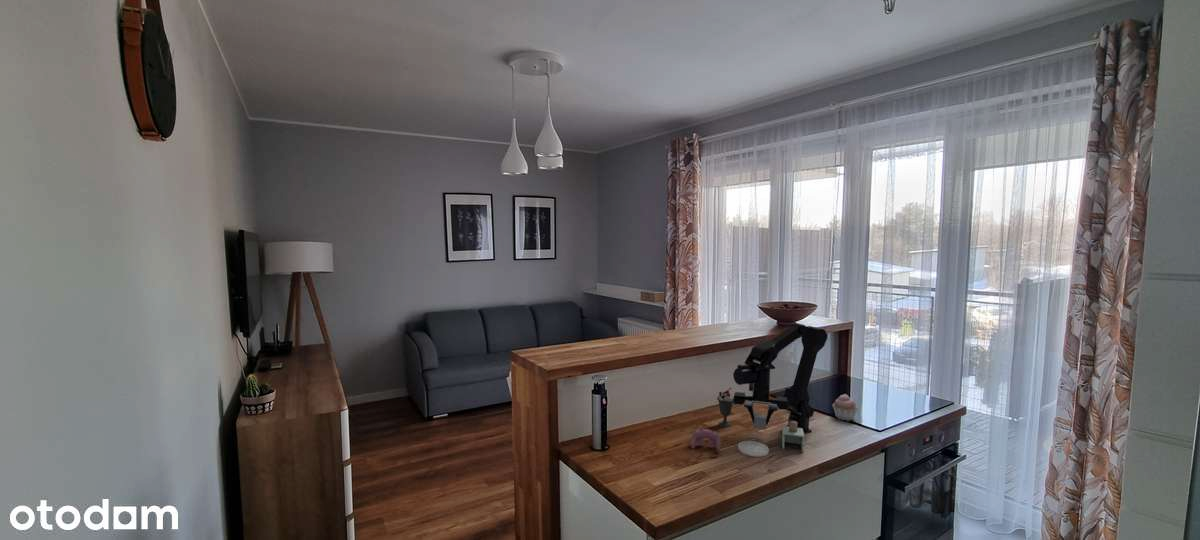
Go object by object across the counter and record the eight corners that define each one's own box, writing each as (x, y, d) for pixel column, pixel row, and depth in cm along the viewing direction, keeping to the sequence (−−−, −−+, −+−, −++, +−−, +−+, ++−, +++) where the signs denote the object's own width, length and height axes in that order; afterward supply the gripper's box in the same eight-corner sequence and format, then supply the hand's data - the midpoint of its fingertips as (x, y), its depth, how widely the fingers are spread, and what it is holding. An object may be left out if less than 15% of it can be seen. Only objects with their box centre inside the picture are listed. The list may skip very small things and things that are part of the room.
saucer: (758, 442, 166) (758, 439, 166) (774, 455, 156) (775, 452, 156) (732, 445, 164) (732, 442, 164) (747, 458, 154) (747, 455, 154)
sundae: (734, 428, 178) (735, 389, 177) (716, 427, 179) (717, 388, 178) (733, 422, 184) (734, 384, 183) (715, 420, 186) (716, 383, 185)
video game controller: (720, 453, 161) (721, 431, 164) (720, 452, 157) (721, 430, 160) (691, 448, 164) (693, 427, 167) (690, 448, 160) (691, 426, 163)
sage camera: (802, 443, 165) (802, 420, 165) (803, 451, 159) (804, 427, 158) (781, 440, 167) (782, 417, 167) (782, 448, 161) (783, 424, 161)
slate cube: (765, 425, 171) (766, 414, 171) (765, 429, 168) (766, 418, 167) (754, 423, 173) (754, 413, 172) (754, 428, 169) (754, 417, 169)
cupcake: (862, 419, 187) (863, 395, 187) (850, 424, 182) (851, 399, 181) (839, 412, 195) (840, 388, 194) (826, 417, 190) (827, 392, 189)
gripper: (788, 377, 174) (786, 419, 175) (735, 372, 180) (734, 412, 181) (789, 386, 163) (788, 430, 164) (733, 381, 169) (732, 423, 170)
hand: (760, 423), depth 170 cm, fingers closed on slate cube, 4 cm apart
